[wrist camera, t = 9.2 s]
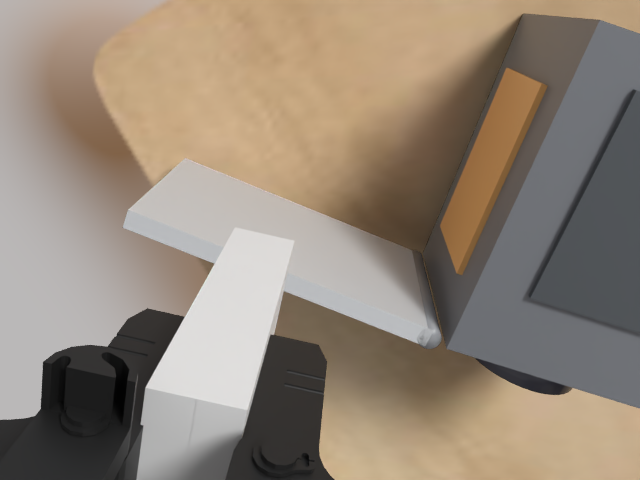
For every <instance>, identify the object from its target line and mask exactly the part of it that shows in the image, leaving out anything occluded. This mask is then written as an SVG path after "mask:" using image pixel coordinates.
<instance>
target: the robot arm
mask: <svg viewBox="0 0 640 480" xmlns="http://www.w3.org/2000/svg"><path fill="white" fill-rule="evenodd" d="M294 242H295V241H293V240H289V239H285V238H280V237H276V236H271V235H267V234H263V233H258V232H254V231H249V230H245V229H241V228H236V227H235V228H234V230H233V232H232V234H231V236H230V237H229V239H228V241H227V243H226V244H225V246H224V248H223V250H222V252H221V253H220V255H219V257H218V259H217V261H216V262H215V264H214V266H213V268H212V270H211V271H210V273H209V275H208V277H207V278H206V280H205V282H204V284H203V286H202V287H201V289H200V291H199V293H198V295H197V296H196V298H195V300H194V302H193V304H192V305H191V307H190V309H189V311H188V313H187V314H186V316H185V317H183V316H179V315H174V314H170V313H165V312H161V311H156V310H152V309H146V310H144V311H142V312H140V313H138V314H136V315H135V316H133V317H131V318H129V319H128V320H127V321H126V322H125V324H124V325H123V326H122V328H121V329H120V330H119V332H118V333H117V336H116V337H114V339H113V340H112V342H111V343H110V344H109V346H108V347H104V346H95V345H85V346H76V347H70V348H68V349H65V350H62V351H59V352H56V353H54V354H53V355H52V356H50V357H49V358H48V359H46V360H45V361H44V362H43V376H42V398H41V409H40V411H39V412H38V413H37V415H36V416H34V417H30V418H25V419H14V420H0V480H334V479H333V478H332V477H331V476H330V475H329V473H328V472H327V470H326V469H325V468H324V466H323V464H322V461H321V459H320V456H319V440H320V430H321V419H322V409H323V398H324V388H325V377H326V367H327V361H326V359H325V357H324V355H323V353H322V351H321V349H320V347H319V345H316V344H312V343H307V342H303V341H299V340H294V339H290V338H285V337H281V336H276V335H274V333H275V329H276V324H277V320H278V315H279V310H280V306H281V301H282V297H283V292H284V288H285V283H286V278H287V274H288V269H289V265H290V260H291V256H292V251H293V246H294Z"/></svg>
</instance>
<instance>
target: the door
mask: <svg viewBox="0 0 640 480" xmlns="http://www.w3.org/2000/svg"><path fill="white" fill-rule="evenodd" d="M235 227H236V228H241V229H245V230H249V231H254V232H258V233H263V234H267V235H271V236H276V237H280V238H285V239H289V240H293V241H295V242H294V246H293V251H292V256H291V260H290V265H289V269H288V274H287V278H286V283H285V288H284V291H285V292H288V293H290V294H293V295H295V296H298V297H300V298H303V299H306V300H308V301H311V302H313V303H316V304H318V305H321V306H323V307H326V308H328V309H331V310H334V311H336V312H339V313H341V314H344V315H346V316H349V317H351V318H354V319H356V320H359V321H362V322H364V323H367V324H369V325H372V326H374V327H377V328H379V329H382V330H385V331H387V332H390V333H392V334H395V335H397V336H400V337H402V338H405V339H407V340H410V341H413V342H415V343H418V344H419V345H420V346H422V347H423V348H426V349H432V348H435V347H437V346H438V345H439V344H440V343H441V339H442V337H441V333H440V328H439V324H438V320H437V316H436V312H435V308H434V303H433V299H432V295H431V291H430V287H429V283H428V278H427V274H426V270H425V266H424V262H423V258H422V255H421V253H420V252H418V251H416V250H410V249H408V248H405V247H403V246H400V245H398V244H395V243H393V242H390V241H388V240H386V239H383V238H381V237H378V236H376V235H373V234H371V233H368V232H366V231H363V230H361V229H359V228H356V227H354V226H351V225H349V224H346V223H344V222H341V221H339V220H336V219H334V218H331V217H329V216H327V215H324V214H322V213H319V212H317V211H314V210H312V209H309V208H307V207H304V206H302V205H300V204H297V203H295V202H292V201H290V200H287V199H285V198H282V197H280V196H277V195H275V194H273V193H270V192H268V191H265V190H263V189H260V188H258V187H255V186H253V185H250V184H248V183H246V182H243V181H241V180H238V179H236V178H233V177H231V176H228V175H226V174H223V173H221V172H218V171H216V170H214V169H211V168H209V167H206V166H204V165H201V164H199V163H196V162H194V161H191V160H189V159H187V158H185V159H184V160H183V161H181V162H180V163H179V164H178V165H177V166H176V167H175V168H174V169H173V170H172V171H170V172H169V173H168V174H167V175H166V176H165V177H164V178H163V179H162V180H160V181H159V182H158V183H157V184H156V185H155V186H154V187H153V188H152V189H150V190H149V191H148V192H147V193H146V194H145V195H144V196H143V197H142V198H141V199H139V200H138V201H137V202H136V203H135V204H134V205H133V206H132V207H131V208H129V209H128V212H127V215H126V218H125V222H124V226H123V228H125V229H127V230H130V231H132V232H135V233H137V234H140V235H143V236H145V237H148V238H150V239H153V240H155V241H158V242H160V243H163V244H165V245H168V246H171V247H173V248H176V249H178V250H181V251H183V252H186V253H189V254H191V255H193V256H196V257H199V258H201V259H204V260H206V261H209V262H211V263H214V264H215V262H216V261H217V259H218V257H219V255H220V253H221V252H222V250H223V248H224V246H225V244H226V243H227V241H228V239H229V237H230V236H231V234H232V232H233V230H234V228H235Z"/></svg>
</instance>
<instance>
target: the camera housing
mask: <svg viewBox="0 0 640 480" xmlns="http://www.w3.org/2000/svg"><path fill="white" fill-rule="evenodd" d="M423 255H424V259H425V263H426V267H427V271H428V275H429V280H430V284H431V288H432V292H433V296H434V300H435V304H436V308H437V312H438V316H439V320H440V324H441V328H442V332H443V336H444V340H445V344H446V349H449V350H452V351H455V352H458V353H462V354H465V355H468V356H471V357H474V358H475V359H477V360H478V361H479V362H480V363H481V364H482V365H484V366H485V367H486V368H488V369H489V370H490V371H492V372H493V373H495V374H496V375H498V376H500V377H501V378H503V379H505V380H507V381H509V382H511V383H513V384H515V385H517V386H520V387H522V388H525V389H528V390H531V391H534V392H538V393H543V394H550V395H560V394H565V393H567V392H569V391H570V390H571V389H572V388H575V389H578V390H582V391H585V392H588V393H591V394H595V395H598V396H601V397H604V398H608V399H611V400H614V401H617V402H621V403H624V404H627V405H630V406H634V407H637V408H640V34H639V33H636V32H633V31H630V30H627V29H624V28H622V27H619V26H616V25H613V24H610V23H607V22H604V21H601V20H594V19H582V18H570V17H558V16H547V15H535V14H523V15H522V18H521V20H520V22H519V25H518V27H517V30H516V32H515V34H514V37H513V39H512V42H511V44H510V46H509V49H508V51H507V53H506V56H505V58H504V61H503V63H502V65H501V68H500V70H499V73H498V75H497V77H496V80H495V82H494V85H493V87H492V89H491V92H490V94H489V97H488V99H487V101H486V104H485V106H484V109H483V111H482V113H481V116H480V118H479V121H478V123H477V125H476V128H475V130H474V133H473V135H472V137H471V140H470V142H469V145H468V147H467V149H466V152H465V154H464V157H463V159H462V161H461V164H460V166H459V168H458V171H457V173H456V176H455V178H454V180H453V183H452V185H451V188H450V190H449V192H448V195H447V197H446V200H445V202H444V204H443V207H442V209H441V212H440V214H439V216H438V219H437V221H436V224H435V226H434V228H433V231H432V233H431V236H430V238H429V240H428V243H427V245H426V248H425V250H424V252H423Z"/></svg>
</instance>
